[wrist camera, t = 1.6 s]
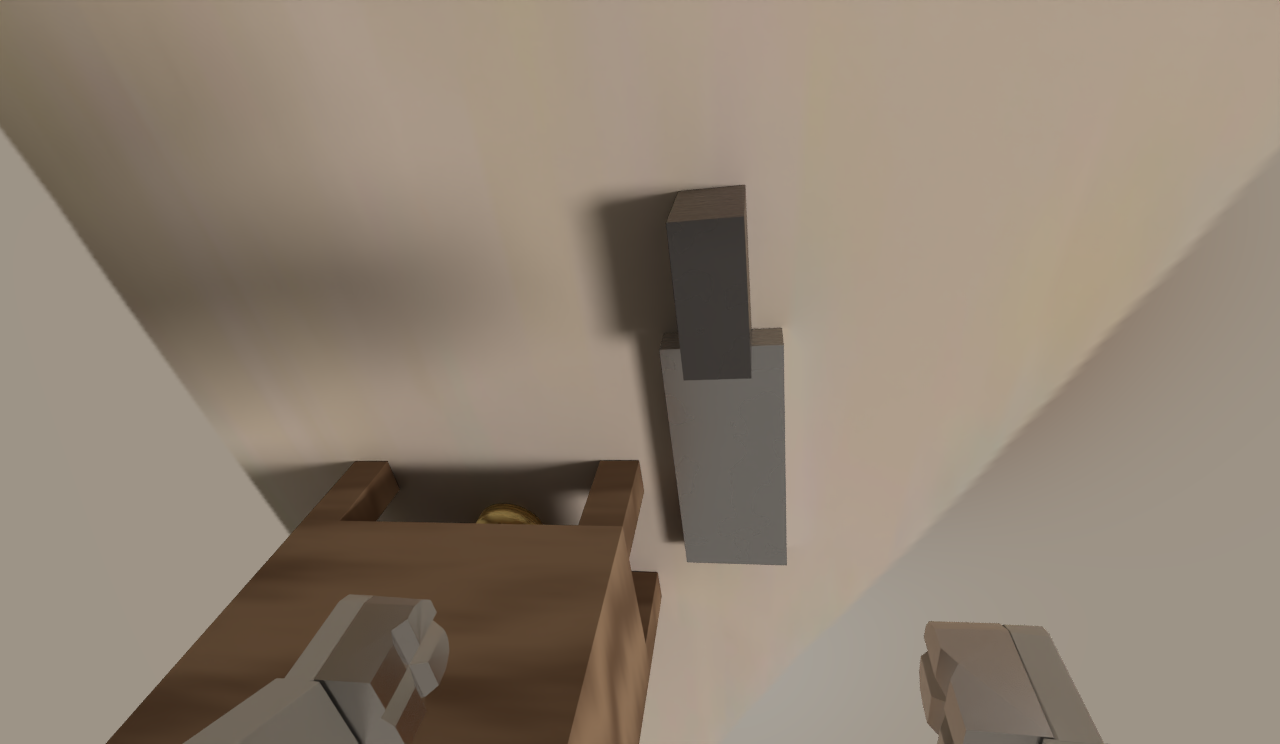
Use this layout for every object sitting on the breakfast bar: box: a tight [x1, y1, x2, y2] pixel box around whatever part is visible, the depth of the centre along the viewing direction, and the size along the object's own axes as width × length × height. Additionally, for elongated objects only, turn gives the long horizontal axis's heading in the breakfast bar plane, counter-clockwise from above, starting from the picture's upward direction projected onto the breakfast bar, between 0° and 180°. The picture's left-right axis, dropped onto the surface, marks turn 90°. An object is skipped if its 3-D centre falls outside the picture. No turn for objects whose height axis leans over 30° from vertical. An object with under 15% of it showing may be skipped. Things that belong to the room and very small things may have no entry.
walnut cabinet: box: [106, 461, 662, 744], centre depth 26 cm, size 11×16×18 cm
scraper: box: [659, 185, 787, 565], centre depth 25 cm, size 18×5×4 cm, turn 8°
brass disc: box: [476, 503, 543, 525], centre depth 34 cm, size 4×4×1 cm
